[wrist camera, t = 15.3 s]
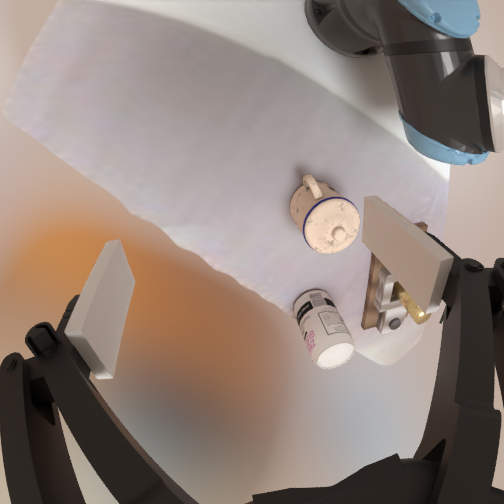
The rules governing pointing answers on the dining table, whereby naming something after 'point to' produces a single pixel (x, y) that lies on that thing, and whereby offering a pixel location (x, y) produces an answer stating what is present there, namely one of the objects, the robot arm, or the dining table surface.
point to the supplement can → (323, 330)
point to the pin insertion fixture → (383, 298)
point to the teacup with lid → (324, 216)
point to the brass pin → (409, 304)
